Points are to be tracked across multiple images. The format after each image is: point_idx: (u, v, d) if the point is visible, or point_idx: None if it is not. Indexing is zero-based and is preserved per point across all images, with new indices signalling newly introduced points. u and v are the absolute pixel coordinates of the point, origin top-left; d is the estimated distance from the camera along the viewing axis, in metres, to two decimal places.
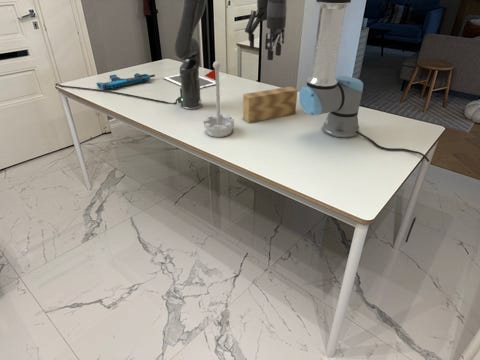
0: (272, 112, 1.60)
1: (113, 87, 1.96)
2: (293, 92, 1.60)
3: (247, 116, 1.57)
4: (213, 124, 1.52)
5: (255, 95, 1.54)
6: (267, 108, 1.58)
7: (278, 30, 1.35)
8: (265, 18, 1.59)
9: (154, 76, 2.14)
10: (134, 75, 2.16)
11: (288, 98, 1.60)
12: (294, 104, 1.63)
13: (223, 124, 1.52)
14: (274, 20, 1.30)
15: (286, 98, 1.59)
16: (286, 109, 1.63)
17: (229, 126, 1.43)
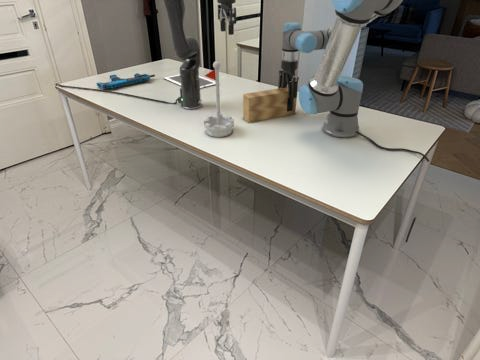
0: (272, 112, 1.60)
1: (113, 87, 1.96)
2: None
3: (247, 116, 1.57)
4: (213, 124, 1.52)
5: (255, 95, 1.54)
6: (267, 108, 1.58)
7: None
8: None
9: (154, 76, 2.14)
10: (134, 75, 2.16)
11: None
12: (294, 104, 1.63)
13: (223, 124, 1.52)
14: None
15: (286, 98, 1.59)
16: (286, 109, 1.63)
17: (229, 126, 1.43)
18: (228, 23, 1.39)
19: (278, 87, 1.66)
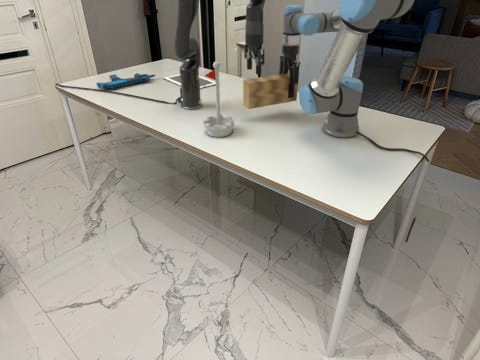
0: (273, 98, 1.56)
1: (113, 87, 1.96)
2: None
3: (247, 102, 1.53)
4: (213, 124, 1.52)
5: (256, 80, 1.50)
6: (267, 94, 1.54)
7: None
8: None
9: (154, 76, 2.14)
10: (134, 75, 2.16)
11: None
12: (295, 90, 1.60)
13: (223, 124, 1.52)
14: (260, 37, 1.38)
15: (287, 84, 1.56)
16: (287, 95, 1.59)
17: (229, 126, 1.43)
18: (256, 64, 1.42)
19: (279, 73, 1.62)
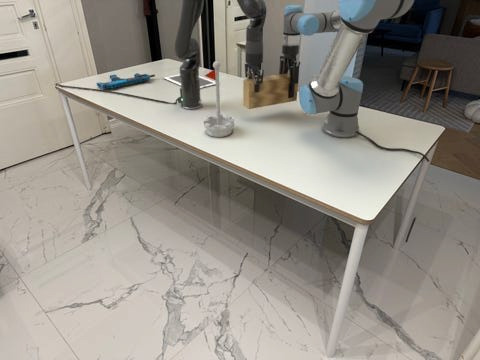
0: (273, 98, 1.56)
1: (113, 87, 1.96)
2: None
3: (247, 102, 1.53)
4: (213, 124, 1.52)
5: None
6: (267, 94, 1.54)
7: None
8: None
9: (154, 76, 2.14)
10: (134, 75, 2.16)
11: None
12: (295, 91, 1.60)
13: (223, 124, 1.52)
14: (259, 56, 1.42)
15: (287, 84, 1.56)
16: (287, 95, 1.59)
17: (229, 126, 1.43)
18: None
19: (279, 73, 1.62)
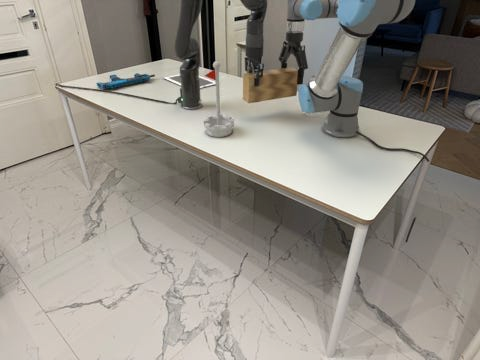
0: (272, 93, 1.55)
1: (113, 87, 1.96)
2: (294, 72, 1.55)
3: (247, 97, 1.52)
4: (213, 124, 1.52)
5: None
6: (267, 89, 1.53)
7: None
8: None
9: (154, 76, 2.14)
10: (134, 75, 2.16)
11: (290, 78, 1.55)
12: (295, 85, 1.58)
13: (223, 124, 1.52)
14: (260, 50, 1.41)
15: (287, 78, 1.55)
16: (287, 90, 1.58)
17: (229, 126, 1.43)
18: (254, 76, 1.46)
19: (279, 57, 1.61)
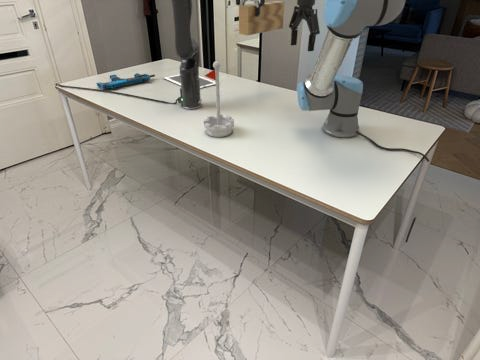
0: (265, 24, 1.62)
1: (113, 87, 1.96)
2: (281, 4, 1.64)
3: (246, 28, 1.56)
4: (213, 124, 1.52)
5: (251, 5, 1.54)
6: (262, 20, 1.59)
7: None
8: None
9: (154, 76, 2.14)
10: (134, 75, 2.16)
11: (278, 10, 1.64)
12: (282, 17, 1.68)
13: (223, 124, 1.52)
14: None
15: (276, 10, 1.63)
16: (276, 22, 1.67)
17: (229, 126, 1.43)
18: (257, 6, 1.52)
19: (290, 23, 1.55)
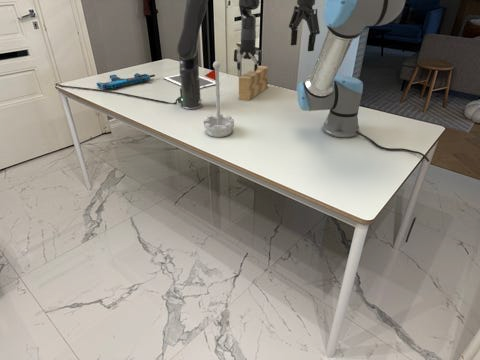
0: (258, 88, 1.89)
1: (113, 87, 1.96)
2: (266, 69, 1.93)
3: (246, 95, 1.81)
4: (213, 124, 1.52)
5: (249, 75, 1.79)
6: (256, 86, 1.86)
7: None
8: None
9: (154, 76, 2.14)
10: (134, 75, 2.16)
11: (264, 74, 1.93)
12: (267, 79, 1.97)
13: (223, 124, 1.52)
14: (255, 41, 1.71)
15: (264, 74, 1.92)
16: (263, 84, 1.95)
17: (229, 126, 1.43)
18: (256, 63, 1.75)
19: (290, 23, 1.55)
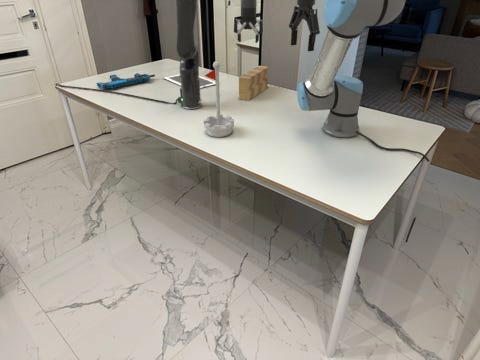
0: (258, 88, 1.89)
1: (113, 87, 1.96)
2: (266, 69, 1.93)
3: (246, 95, 1.81)
4: (213, 124, 1.52)
5: (249, 75, 1.79)
6: (256, 86, 1.86)
7: None
8: None
9: (154, 76, 2.14)
10: (134, 75, 2.16)
11: (264, 74, 1.93)
12: (267, 79, 1.97)
13: (223, 124, 1.52)
14: None
15: (264, 74, 1.92)
16: (263, 84, 1.95)
17: (229, 126, 1.43)
18: (257, 33, 1.66)
19: (290, 23, 1.55)
